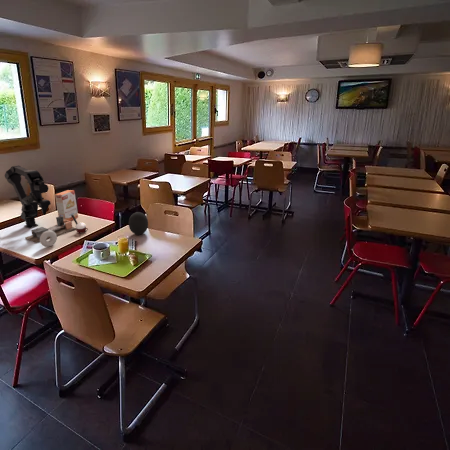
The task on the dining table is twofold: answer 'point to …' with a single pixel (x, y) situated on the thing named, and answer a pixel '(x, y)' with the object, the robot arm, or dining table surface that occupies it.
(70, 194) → the cracker box
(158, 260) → the dining table surface
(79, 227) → the cocoa
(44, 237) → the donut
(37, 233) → the base board
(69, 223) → the socket block
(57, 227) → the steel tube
